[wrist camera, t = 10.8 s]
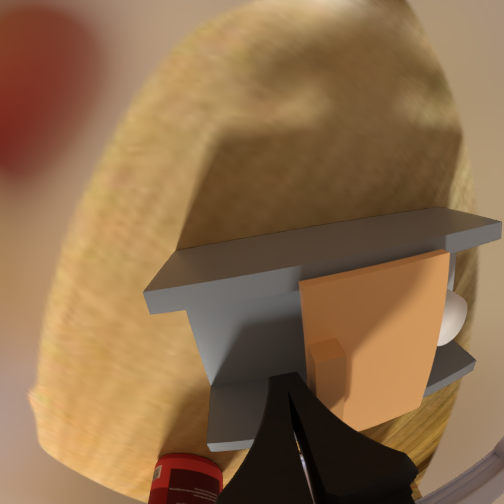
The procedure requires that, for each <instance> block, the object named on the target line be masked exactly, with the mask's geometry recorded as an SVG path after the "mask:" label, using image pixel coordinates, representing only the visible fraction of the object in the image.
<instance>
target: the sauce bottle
mask: <svg viewBox="0 0 504 504" xmlns="http://www.w3.org/2000/svg"><path fill="white" fill-rule="evenodd" d="M410 487H411V489H412V491H413V493H412V494H411V495H412V497H413V499H414V501H416V500H418V499H420V498H422V496H421V493H420V491H419V489H418V487H417V485H416V483H415V482H414V481H413V482H412V483H411V485H410Z"/></svg>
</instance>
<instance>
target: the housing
mask: <svg viewBox="0 0 504 504" xmlns="http://www.w3.org/2000/svg"><path fill="white" fill-rule="evenodd" d="M501 227H502V222H500V221H497V220H493V219H490V218H486V217H482V216H478V215H474V214H469V213H465V212H461V211H456V210H452V209H447V208H443V207H435V208H428V209H421V210H414V211H408V212H401V213H394V214H388V215H381V216H375V217H369V218H362V219H356V220H350V221H343V222H337V223H331V224H325V225H319V226H313V227H307V228H301V229H295V230H289V231H283V232H278V233H272V234H266V235H260V236H254V237H249V238H243V239H238V240H232V241H226V242H221V243H215V244H210V245H204V246H199V247H193V248H188V249H183V250H177V251H175V252H174V253H173V254H172V255H171V257H170V258H169V259H168V260H167V262H166V263H165V264H164V265H163V267H162V268H161V269H160V271H159V272H158V273H157V274H156V276H155V277H154V278H153V280H152V281H151V282H150V284H149V285H148V286H147V288H146V289H145V290H144V291H143V294H144V297H145V300H146V303H147V306H148V309H149V312H150V315H151V314H159V313H166V312H174V311H181V310H186V311H187V315H188V318H189V321H190V325H191V328H192V331H193V335H194V338H195V341H196V344H197V347H198V350H199V353H200V356H201V359H202V362H203V365H204V368H205V371H206V374H207V377H208V380H209V382H210V385H211V391H210V404H209V417H208V431H207V445H208V447H209V449H210V451H211V452H217V451H230V450H241V449H250V448H251V446H252V444H253V441H254V439H255V437H256V434H257V432H258V429H259V426H260V423H261V420H262V417H263V413H264V409H265V405H266V400H267V394H268V378H269V377H271V376H276V375H281V374H286V373H291V372H298V373H299V375H300V376H301V378H302V379H303V381H304V382H305V384H306V385H307V386H308V382H307V368H306V355H305V343H304V332H303V321H302V311H301V301H300V292H299V283H298V281H303V280H308V279H313V278H318V277H323V276H328V275H333V274H337V273H342V272H347V271H351V270H356V269H360V268H365V267H369V266H374V265H378V264H382V263H387V262H391V261H395V260H399V259H404V258H408V257H412V256H416V255H420V254H424V253H428V252H432V251H436V250H440V249H443V250H446V251H448V252H450V260H449V273H448V283H447V289H449V290H451V291H452V292H453V284H454V275H455V264H456V252H459V251H462V250H465V249H469V248H472V247H475V246H479V245H482V244H485V243H488V242H491V241H495V240H497V239H500V238H501ZM475 363H476V360H475V359H474V358H473V357H472V356H471V355H470V354H469V353H468V352H466V351H465V350H464V349H463V348H462V347H461V346H460V345H458V344H457V343H456V342H455V341H454V340H453V339H452V340H451V341H450V342H448V343H447V344H445V345H442V346H437V348H436V352H435V357H434V361H433V364H432V368H431V372H430V375H429V379H428V382H427V385H426V388H425V392H424V395H423V398H424V397H426V396H428V395H430V394H432V393H434V392H436V391H438V390H440V389H442V388H443V387H445V386H447V385H449V384H451V383H452V382H454V381H456V380H458V379H459V378H461V377H463V376H464V375H466V374H468V373H469V372H471V371H472V370H473V368H474V365H475ZM293 431H294V430H293ZM294 435H295V433H294ZM295 438H296V436H295ZM296 441H297V439H296Z"/></svg>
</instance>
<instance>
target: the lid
mask: <svg viewBox="0 0 504 504" xmlns="http://www.w3.org/2000/svg"><path fill="white" fill-rule="evenodd" d="M449 260H450V252H448V251H446V250H443V249H440V250H436V251H432V252H428V253H424V254H420V255H416V256H412V257H408V258H404V259H399V260H395V261H391V262H387V263H382V264H378V265H374V266H369V267H365V268H360V269H356V270H351V271H347V272H342V273H337V274H333V275H328V276H323V277H318V278H313V279H308V280H303V281H298V283H299V292H300V301H301V311H302V321H303V332H304V343H305V355H306V368H307V382H308V387H309V389H310V390H311V391H312V392H313V394H314V395H315V396H316V397H317V398H318V399H319V400H320V401H321V402H322V403H323V404H324V405H325V406H326V407H327V408H328V409H329V410H330V411H331V412H332V413H333V414H335V415H336V416H337V417H338V418H339V419H341V420H342V421H343V422H345V423H346V424H347V425H349V426H350V427H352V428H353V429H355V430H356V431H358V432H359V431H362V430H365V429H368V428H370V427H373V426H376V425H379V424H381V423H384V422H386V421H389V420H391V419H394V418H396V417H398V416H401V415H403V414H405V413H408V412H410V411H412V410H414V409H416V408H418V407H419V406H420V404H421V401H422V398H423V395H424V392H425V388H426V385H427V382H428V379H429V375H430V372H431V368H432V364H433V361H434V357H435V352H436V348H437V344H438V339H439V334H440V329H441V324H442V319H443V313H444V306H445V299H446V292H447V283H448V273H449Z"/></svg>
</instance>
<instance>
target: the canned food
mask: <svg viewBox="0 0 504 504" xmlns="http://www.w3.org/2000/svg"><path fill="white" fill-rule="evenodd" d="M222 490H223V475H222V472H221V469H220V468H219V466H218V465H217V464H216V463H214V462H212V461H211V460H209V459H206V458H204V457H201V456H197V455H192V454H185V453H174V454H168V455H164V456H162V457H161V458H160V459H159V460H158V462H157V463H156V466H155V470H154V475H153V480H152V485H151V490H150V496H149V501H148V504H214V503H215V500H216V498H217V496H218V495H219V493H220V492H221V491H222Z"/></svg>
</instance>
